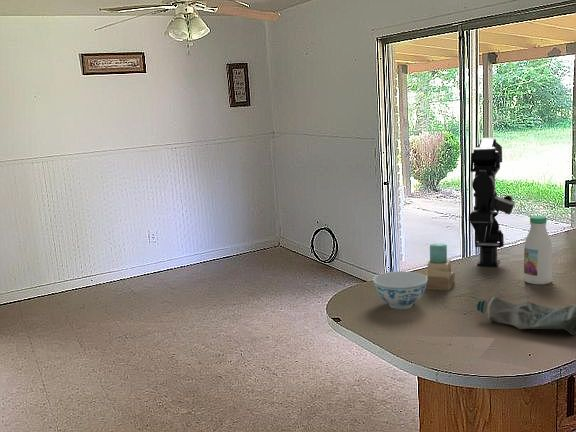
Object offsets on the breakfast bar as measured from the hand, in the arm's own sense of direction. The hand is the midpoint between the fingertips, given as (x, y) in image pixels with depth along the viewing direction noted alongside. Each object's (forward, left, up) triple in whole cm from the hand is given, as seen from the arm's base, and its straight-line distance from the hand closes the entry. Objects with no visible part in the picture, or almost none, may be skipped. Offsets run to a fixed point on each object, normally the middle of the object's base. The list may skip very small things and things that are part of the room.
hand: (485, 238), depth 187 cm
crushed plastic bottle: (+36, +16, -13) cm, 42 cm away
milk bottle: (-2, +15, -13) cm, 20 cm away
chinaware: (+30, -18, -13) cm, 37 cm away
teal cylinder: (+10, -12, -5) cm, 16 cm away
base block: (+10, -12, -13) cm, 20 cm away
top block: (+10, -12, -9) cm, 18 cm away
